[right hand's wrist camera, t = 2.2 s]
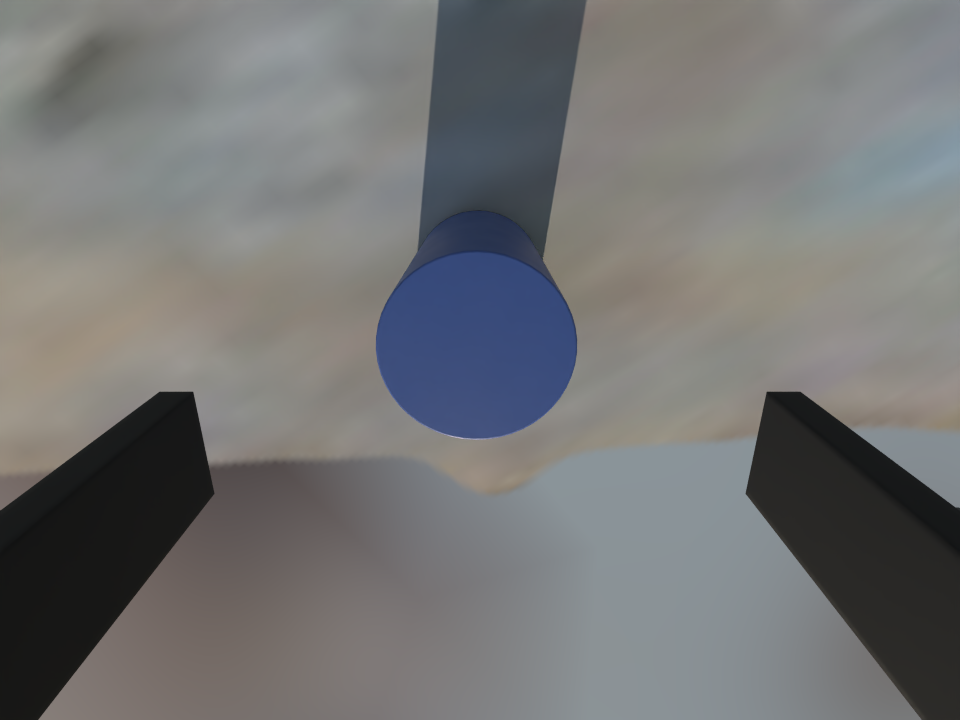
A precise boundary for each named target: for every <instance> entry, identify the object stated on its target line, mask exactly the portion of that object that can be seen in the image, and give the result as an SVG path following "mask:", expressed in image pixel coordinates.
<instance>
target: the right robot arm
mask: <svg viewBox="0 0 960 720" xmlns="http://www.w3.org/2000/svg"><path fill="white" fill-rule="evenodd" d="M213 495H214V490H213V485H212V480H211V475H210V470H209V466H208V461H207V456H206V451H205V446H204V441H203V437H202V432H201V427H200V422H199V417H198V413H197V408H196V403H195V398H194V393H193V392H159V393H157V394H156V395H155V396H153V397H152V398H151V399H149V400H148V401H147V402H145V403H144V404H143V405H141V406H140V407H139V408H137V409H136V410H135V411H133V412H132V413H131V414H129V415H128V416H127V417H125V418H124V419H123V420H121V421H120V422H119V423H117V424H116V425H115V426H113V427H112V428H110V429H109V430H108V431H106V432H105V433H104V434H102V435H101V436H100V437H98V438H97V439H96V440H94V441H93V442H92V443H90V444H89V445H88V446H86V447H85V448H84V449H82V450H81V451H80V452H78V453H77V454H76V455H74V456H73V457H72V458H70V459H69V460H68V461H66V462H65V463H64V464H62V465H61V466H60V467H58V468H57V469H56V470H54V471H53V472H52V473H50V474H49V475H48V476H46V477H45V478H43V479H42V480H41V481H40V482H38V483H37V484H35V485H34V486H33V487H31V488H30V489H29V490H28V491H26V492H25V493H23V494H22V495H21V496H19V497H18V498H17V499H15V500H14V501H13V502H11V503H10V504H9V505H7V506H6V507H5V508H3V509H2V510H0V720H38V719H39V718H40V717H41V715H42V714H43V713H44V712H45V710H46V709H47V708H48V706H49V705H50V704H51V703H52V701H53V700H54V699H55V697H56V696H57V695H58V694H59V692H60V691H61V690H62V688H63V687H64V686H65V685H66V683H67V682H68V681H69V679H70V678H71V677H72V676H73V674H74V673H75V672H76V671H77V669H78V668H79V667H80V665H81V664H82V663H83V662H84V660H85V659H86V658H87V656H88V655H89V654H90V653H91V651H92V650H93V649H94V647H95V646H96V645H97V644H98V642H99V641H100V640H101V638H102V637H103V636H104V635H105V633H106V632H107V631H108V629H109V628H110V627H111V626H112V624H113V623H114V622H115V620H116V619H117V618H118V617H119V615H120V614H121V613H122V612H123V610H124V609H125V608H126V606H127V605H128V604H129V603H130V601H131V600H132V599H133V597H134V596H135V595H136V594H137V592H138V591H139V590H140V588H141V587H142V586H143V585H144V583H145V582H146V581H147V579H148V578H149V577H150V576H151V574H152V573H153V572H154V570H155V569H156V568H157V567H158V565H159V564H160V563H161V561H162V560H163V559H164V558H165V556H166V555H167V554H168V552H169V551H170V550H171V549H172V547H173V546H174V545H175V543H176V542H177V541H178V540H179V538H180V537H181V536H182V535H183V533H184V532H185V531H186V529H187V528H188V527H189V525H190V524H191V523H192V522H193V520H194V519H195V518H196V517H197V515H198V514H199V513H200V511H201V510H202V509H203V508H204V506H205V505H206V504H207V502H208V501H209V500H210V499H211V497H212V496H213ZM746 495H747V496H748V497H749V499H750V500H751V501H752V502H753V504H754V505H755V506H756V508H757V509H758V510H759V511H760V513H761V514H762V515H763V517H764V518H765V519H766V520H767V522H768V523H769V524H770V526H771V527H772V528H773V529H774V531H775V532H776V533H777V534H778V536H779V537H780V538H781V540H782V541H783V542H784V544H785V545H786V546H787V547H788V549H789V550H790V551H791V552H792V554H793V555H794V556H795V558H796V559H797V560H798V561H799V563H800V564H801V565H802V567H803V568H804V569H805V570H806V572H807V573H808V574H809V576H810V577H811V578H812V579H813V581H814V582H815V583H816V585H817V586H818V587H819V588H820V590H821V591H822V592H823V594H824V595H825V596H826V597H827V599H828V600H829V601H830V603H831V604H832V605H833V606H834V608H835V609H836V610H837V612H838V613H839V614H840V615H841V617H842V618H843V619H844V620H845V622H846V623H847V624H848V626H849V627H850V628H851V629H852V631H853V632H854V633H855V635H856V636H857V637H858V638H859V640H860V641H861V642H862V644H863V645H864V646H865V647H866V649H867V650H868V651H869V653H870V654H871V655H872V656H873V658H874V659H875V660H876V662H877V663H878V664H879V665H880V667H881V668H882V669H883V671H884V672H885V673H886V674H887V676H888V677H889V678H890V679H891V681H892V682H893V683H894V685H895V686H896V687H897V688H898V690H899V691H900V692H901V694H902V695H903V696H904V697H905V699H906V700H907V701H908V703H909V704H910V705H911V706H912V708H913V709H914V710H915V712H916V713H917V714H918V715H919V717H920V718H921V719H922V720H960V508H955V507H954V506H953V505H951V504H950V503H949V502H947V501H946V500H945V499H943V498H942V497H941V496H939V495H938V494H937V493H935V492H934V491H933V490H931V489H930V488H929V487H927V486H926V485H925V484H923V483H922V482H921V481H919V480H918V479H917V478H915V477H914V476H912V475H911V474H910V473H908V472H907V471H906V470H904V469H903V468H902V467H900V466H899V465H898V464H896V463H895V462H894V461H892V460H891V459H890V458H888V457H887V456H886V455H884V454H883V453H882V452H880V451H879V450H878V449H876V448H875V447H874V446H872V445H871V444H870V443H868V442H867V441H866V440H864V439H863V438H861V437H860V436H859V435H858V434H856V433H855V432H854V431H852V430H851V429H850V428H848V427H847V426H845V425H844V424H843V423H841V422H840V421H839V420H837V419H836V418H835V417H833V416H832V415H831V414H829V413H828V412H827V411H825V410H824V409H823V408H821V407H820V406H819V405H817V404H816V403H815V402H813V401H812V400H811V399H809V398H808V397H807V396H805V395H804V394H803V393H801V392H767V393H766V398H765V403H764V408H763V413H762V417H761V422H760V427H759V432H758V437H757V441H756V446H755V451H754V456H753V461H752V466H751V470H750V475H749V480H748V485H747V490H746Z"/></svg>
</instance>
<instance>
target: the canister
mask: <svg viewBox="0 0 960 720" xmlns="http://www.w3.org/2000/svg"><path fill="white" fill-rule="evenodd" d="M376 354H377V361H378V365H379V369H380V373H381V376H382V378H383V380H384V383H385V385H386V387H387V388H388V390H389V392H390V393H391V395H392V397H393V398H394V399H395V400H396V402H397V403H398V404H399V406H400V407H401V408H402V409H403V410H404V411H405V412H406V413H407V414H409V415H410V416H411V417H412V418H414V419H415V420H416V421H418V422H419V423H421V424H423V425H424V426H426V427H428V428H430V429H432V430H434V431H436V432H439V433H442V434H445V435H448V436H451V437H457V438H462V439H474V440H478V439H491V438H497V437H502V436H505V435H509V434H512V433H515V432H517V431H519V430H522V429H524V428H526V427H527V426H529V425H531V424H533V423H534V422H536V421H537V420H538V419H540V418H541V417H542V416H544V415H545V414H546V413H547V412H548V411H549V410H550V409H551V408H552V407H553V406H554V405H555V403H556V402H557V401H558V400H559V398H560V397H561V395H562V394H563V392H564V391H565V389H566V387H567V385H568V383H569V381H570V379H571V376H572V373H573V370H574V366H575V361H576V355H577V336H576V328H575V324H574V320H573V317H572V314H571V312H570V309H569V307H568V305H567V303H566V301H565V299H564V297H563V296H562V294H561V292H560V290H559V288H558V287H557V285H556V283H555V281H554V280H553V278H552V276H551V274H550V273H549V271H548V269H547V267H546V266H545V264H544V262H543V260H542V259H541V257H540V255H539V253H538V252H537V250H536V248H535V246H534V244H533V243H532V241H531V240H530V238H529V236H528V235H527V234H526V233H525V232H524V230H523V229H522V228H520V227H519V226H518V225H517V224H516V223H514V222H513V221H512V220H510V219H508V218H506V217H504V216H502V215H499V214H496V213H493V212H488V211H468V212H463V213H460V214H457V215H454V216H452V217H450V218H448V219H446V220H444V221H443V222H441V223H440V224H439V225H438V226H436V227H435V228H434V229H433V230H432V231H431V233H430V234H429V235H428V236H427V238H426V239H425V241H424V243H423V244H422V246H421V247H420V249H419V251H418V252H417V254H416V255H415V257H414V259H413V260H412V262H411V263H410V265H409V267H408V268H407V270H406V271H405V273H404V275H403V276H402V278H401V279H400V281H399V283H398V284H397V286H396V288H395V289H394V291H393V292H392V294H391V296H390V297H389V299H388V300H387V302H386V304H385V307H384V309H383V311H382V313H381V317H380V320H379V323H378V328H377V335H376Z"/></svg>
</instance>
